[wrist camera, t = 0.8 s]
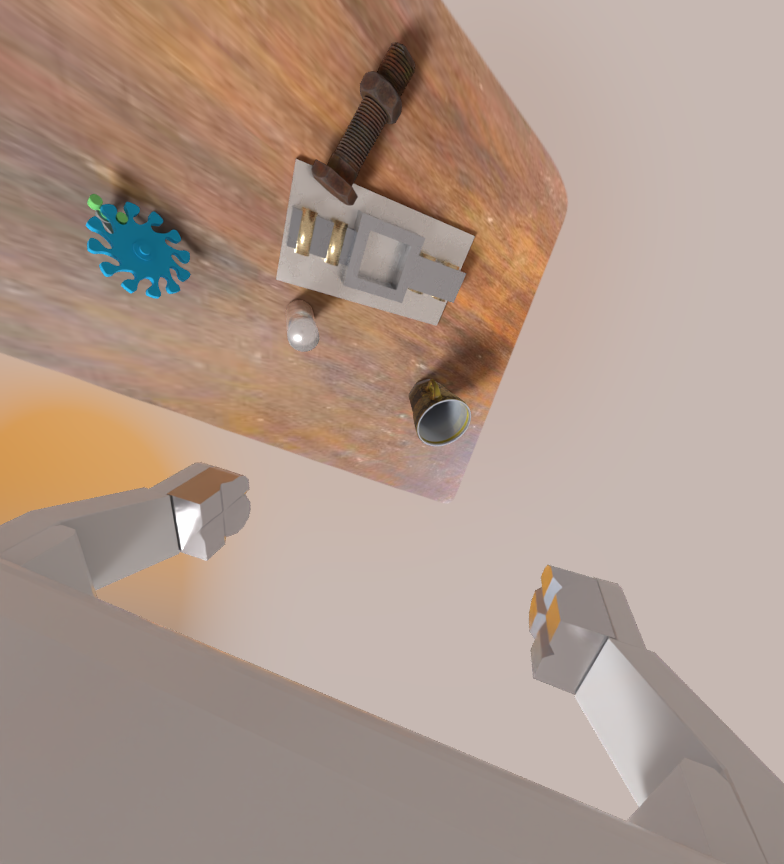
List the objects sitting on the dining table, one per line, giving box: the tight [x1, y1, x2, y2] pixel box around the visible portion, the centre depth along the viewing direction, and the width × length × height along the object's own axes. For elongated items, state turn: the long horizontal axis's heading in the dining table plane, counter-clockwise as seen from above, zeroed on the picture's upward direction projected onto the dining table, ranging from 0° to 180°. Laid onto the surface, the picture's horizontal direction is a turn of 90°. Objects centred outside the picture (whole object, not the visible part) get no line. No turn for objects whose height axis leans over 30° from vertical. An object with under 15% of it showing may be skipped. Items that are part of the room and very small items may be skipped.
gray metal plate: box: [276, 159, 475, 326], centre depth 49 cm, size 14×26×4 cm, turn 70°
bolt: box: [311, 42, 415, 206], centre depth 39 cm, size 6×5×15 cm
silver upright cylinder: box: [286, 300, 319, 352], centre depth 49 cm, size 4×4×9 cm
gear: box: [86, 194, 191, 299], centre depth 41 cm, size 11×6×10 cm
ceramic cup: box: [409, 379, 471, 446], centre depth 63 cm, size 13×10×10 cm
